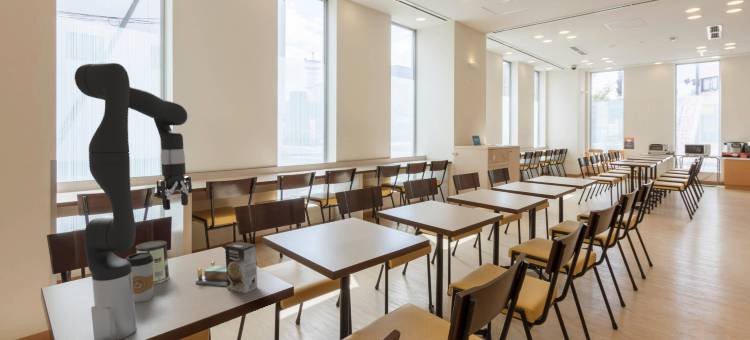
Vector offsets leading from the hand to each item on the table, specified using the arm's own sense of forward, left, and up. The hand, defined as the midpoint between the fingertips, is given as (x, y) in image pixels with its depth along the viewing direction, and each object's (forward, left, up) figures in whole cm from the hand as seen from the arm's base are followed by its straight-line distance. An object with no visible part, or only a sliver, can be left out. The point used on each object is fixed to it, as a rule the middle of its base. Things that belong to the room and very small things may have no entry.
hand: (176, 207), depth 141 cm
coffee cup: (-11, +6, -30) cm, 32 cm away
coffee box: (+4, -23, -30) cm, 38 cm away
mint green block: (+9, -10, -28) cm, 32 cm away
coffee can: (+4, +15, -30) cm, 34 cm away
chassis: (+9, -10, -30) cm, 33 cm away
